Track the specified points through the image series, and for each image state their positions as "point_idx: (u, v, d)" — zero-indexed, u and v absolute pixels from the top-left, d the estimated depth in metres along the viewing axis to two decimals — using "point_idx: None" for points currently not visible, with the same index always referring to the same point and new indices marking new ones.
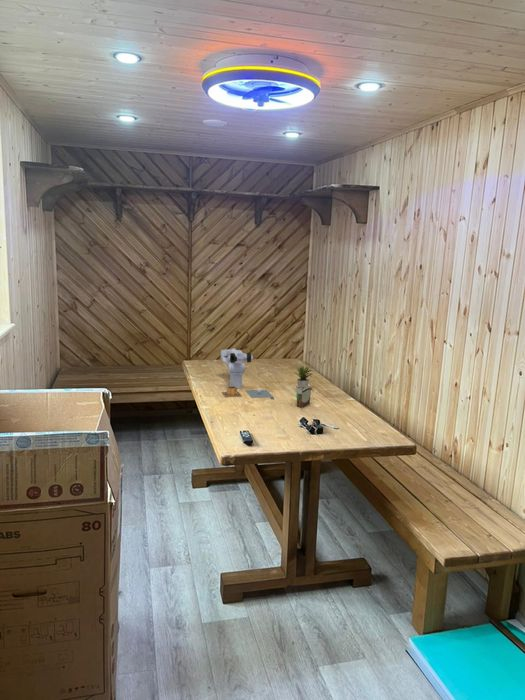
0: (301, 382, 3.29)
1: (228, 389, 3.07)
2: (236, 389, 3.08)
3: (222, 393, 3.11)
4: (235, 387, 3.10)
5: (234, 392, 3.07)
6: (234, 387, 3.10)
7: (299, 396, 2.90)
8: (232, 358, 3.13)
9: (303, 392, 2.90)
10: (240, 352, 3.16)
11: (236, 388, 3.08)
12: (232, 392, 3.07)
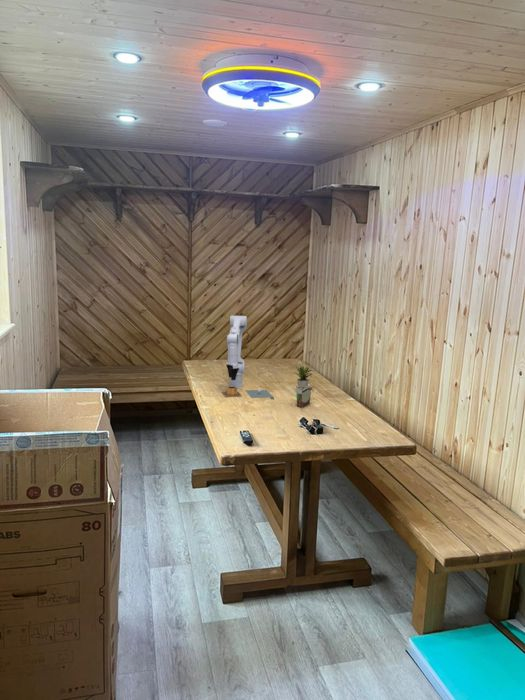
0: (301, 382, 3.29)
1: (228, 389, 3.07)
2: (236, 389, 3.08)
3: (222, 393, 3.11)
4: (235, 387, 3.10)
5: (234, 392, 3.07)
6: (234, 387, 3.10)
7: (299, 396, 2.90)
8: None
9: (303, 392, 2.90)
10: None
11: (236, 388, 3.08)
12: (232, 392, 3.07)
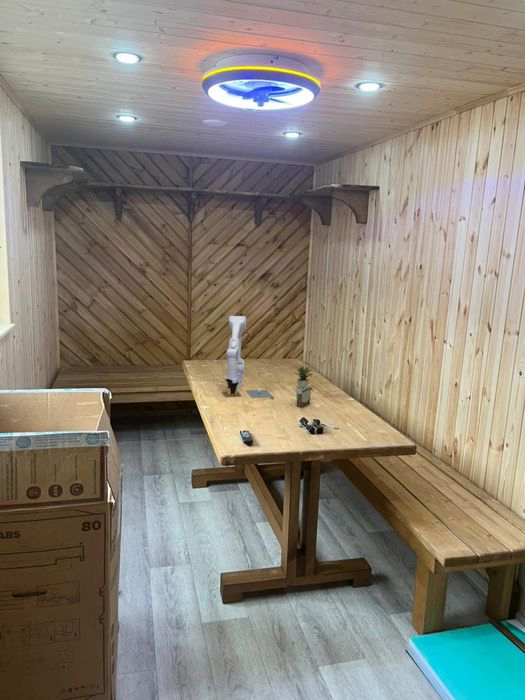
0: (301, 382, 3.29)
1: (228, 389, 3.07)
2: (236, 389, 3.08)
3: (222, 393, 3.11)
4: None
5: None
6: None
7: (299, 396, 2.90)
8: None
9: (303, 392, 2.90)
10: None
11: (236, 388, 3.08)
12: None
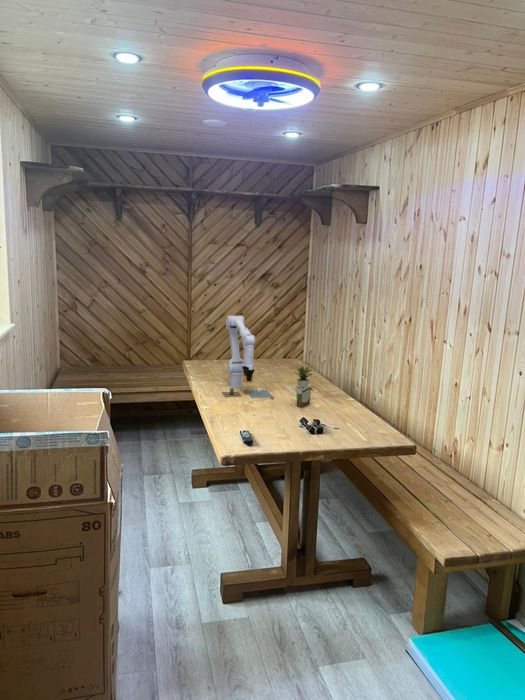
0: (301, 382, 3.29)
1: (244, 376, 3.08)
2: (252, 376, 3.09)
3: (222, 393, 3.11)
4: None
5: None
6: None
7: (299, 396, 2.90)
8: None
9: (303, 392, 2.90)
10: (243, 365, 3.08)
11: (252, 375, 3.09)
12: None
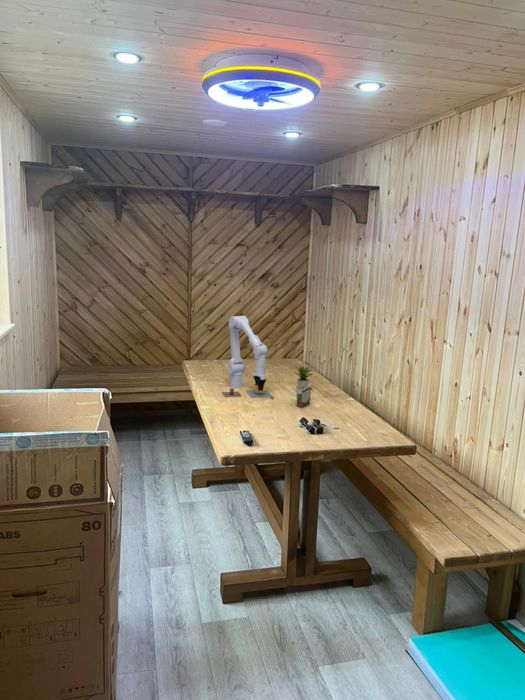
0: (301, 382, 3.29)
1: (256, 386, 3.11)
2: None
3: (222, 393, 3.11)
4: None
5: None
6: None
7: (299, 396, 2.90)
8: None
9: (303, 392, 2.90)
10: None
11: None
12: None
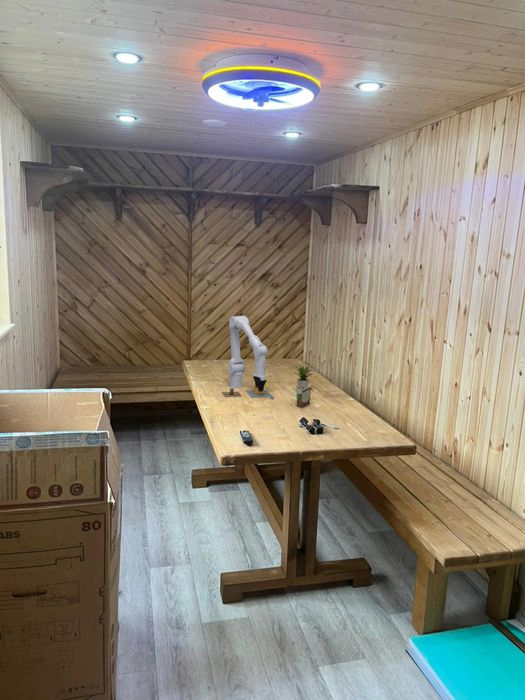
0: (301, 382, 3.29)
1: (255, 388, 3.11)
2: None
3: (222, 393, 3.11)
4: None
5: None
6: None
7: (299, 396, 2.90)
8: None
9: (303, 392, 2.90)
10: None
11: None
12: (259, 392, 3.10)
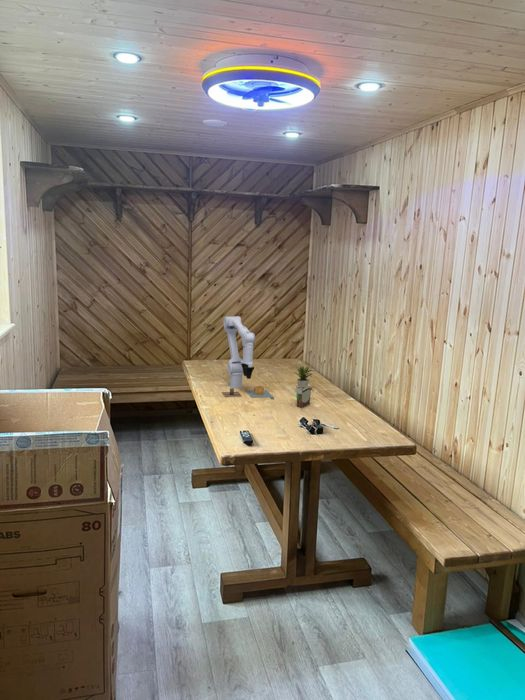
0: (301, 382, 3.29)
1: (255, 388, 3.11)
2: (263, 388, 3.12)
3: (222, 393, 3.11)
4: (262, 386, 3.13)
5: (261, 391, 3.11)
6: (261, 386, 3.14)
7: (299, 396, 2.90)
8: None
9: (303, 392, 2.90)
10: (242, 362, 3.11)
11: (263, 387, 3.12)
12: (259, 392, 3.10)
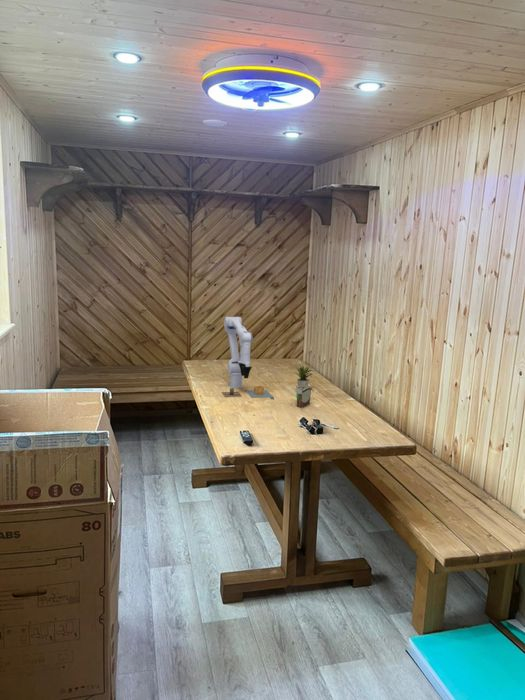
0: (301, 382, 3.29)
1: (255, 388, 3.11)
2: (263, 388, 3.12)
3: (222, 393, 3.11)
4: (262, 386, 3.13)
5: (261, 391, 3.11)
6: (261, 386, 3.14)
7: (299, 396, 2.90)
8: None
9: (303, 392, 2.90)
10: (240, 362, 3.12)
11: (263, 387, 3.12)
12: (259, 392, 3.10)
